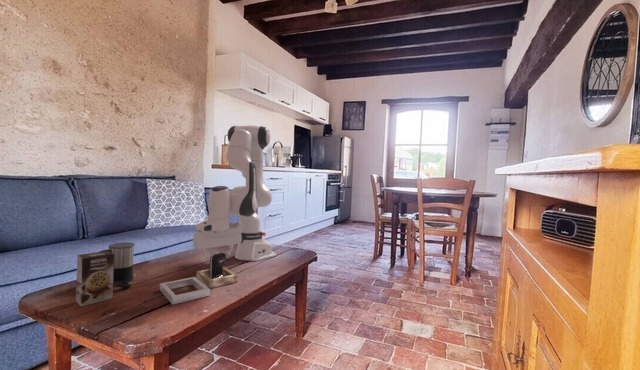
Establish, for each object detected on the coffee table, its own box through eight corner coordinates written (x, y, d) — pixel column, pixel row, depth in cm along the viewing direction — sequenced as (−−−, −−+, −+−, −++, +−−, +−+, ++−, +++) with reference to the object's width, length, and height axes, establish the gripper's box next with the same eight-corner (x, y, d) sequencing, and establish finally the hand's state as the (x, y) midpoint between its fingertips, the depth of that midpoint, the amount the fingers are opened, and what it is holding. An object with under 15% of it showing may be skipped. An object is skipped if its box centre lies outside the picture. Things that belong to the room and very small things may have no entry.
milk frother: (123, 275, 126) (124, 241, 126) (151, 281, 121) (152, 245, 121) (87, 286, 113) (88, 248, 113) (117, 293, 108) (118, 253, 107)
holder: (194, 282, 121) (194, 276, 121) (209, 295, 109) (210, 289, 109) (159, 290, 113) (160, 283, 112) (172, 304, 101) (172, 297, 101)
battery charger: (216, 283, 122) (217, 256, 121) (208, 281, 123) (209, 254, 123) (226, 278, 128) (227, 252, 128) (219, 276, 130) (220, 251, 129)
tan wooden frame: (223, 272, 135) (223, 266, 135) (237, 282, 124) (237, 275, 124) (196, 278, 127) (196, 271, 127) (209, 288, 116) (209, 280, 116)
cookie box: (81, 307, 96) (82, 258, 96) (75, 301, 100) (76, 254, 99) (113, 298, 103) (114, 253, 103) (106, 293, 107) (108, 249, 107)
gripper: (238, 221, 134) (237, 251, 135) (191, 225, 120) (190, 258, 121) (244, 223, 130) (243, 254, 130) (197, 227, 116) (196, 262, 116)
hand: (217, 256), depth 125 cm, fingers open, 8 cm apart
